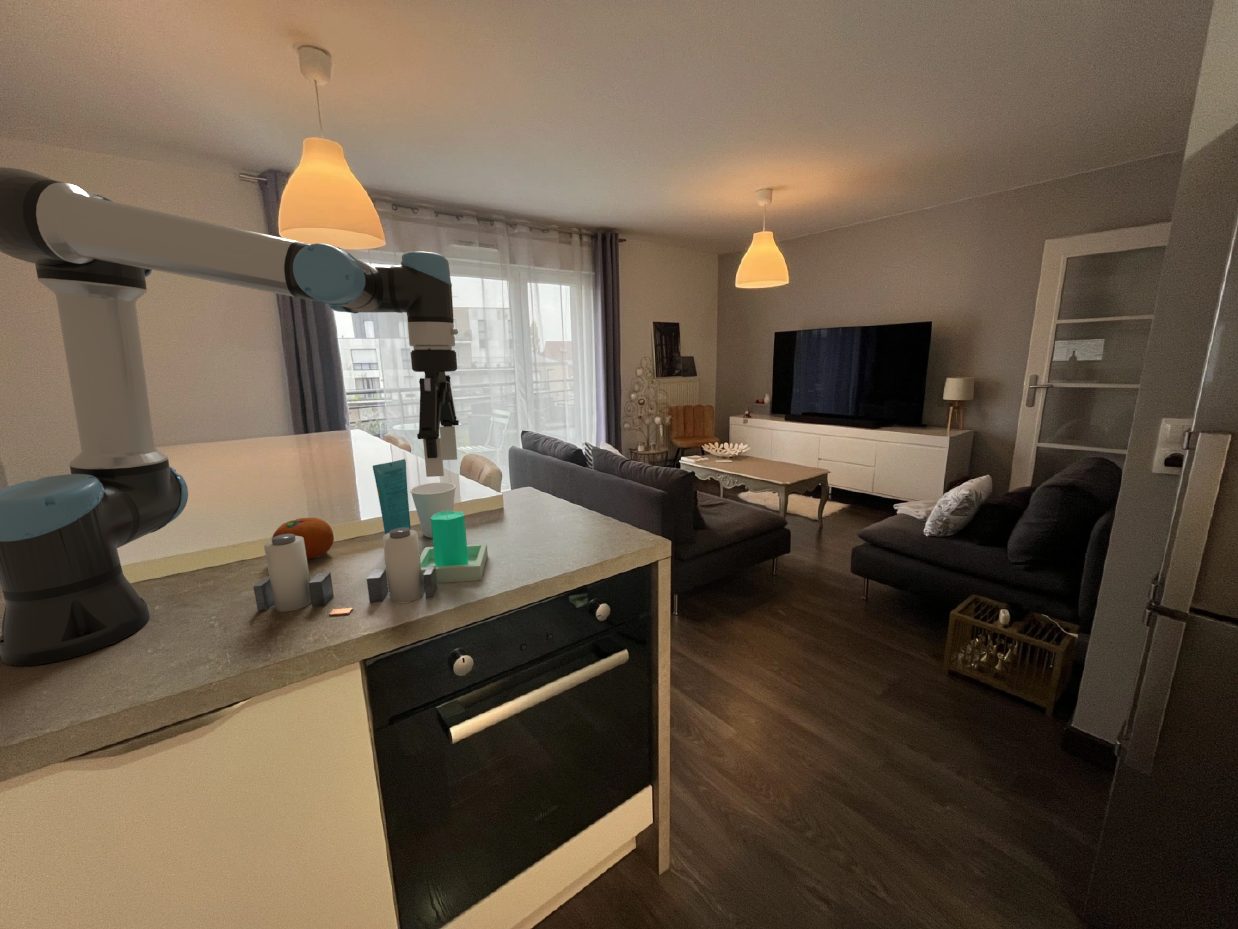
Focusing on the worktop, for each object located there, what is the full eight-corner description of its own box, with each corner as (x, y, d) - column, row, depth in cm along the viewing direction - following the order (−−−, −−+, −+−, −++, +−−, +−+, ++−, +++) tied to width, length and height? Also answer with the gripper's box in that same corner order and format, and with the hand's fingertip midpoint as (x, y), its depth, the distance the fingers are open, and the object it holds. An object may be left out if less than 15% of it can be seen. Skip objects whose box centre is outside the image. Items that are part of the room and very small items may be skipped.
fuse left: (268, 613, 80) (255, 544, 78) (285, 597, 86) (274, 532, 83) (304, 610, 81) (293, 542, 78) (318, 594, 86) (308, 530, 84)
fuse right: (385, 604, 83) (377, 537, 80) (395, 589, 88) (387, 526, 85) (419, 601, 84) (412, 535, 81) (426, 587, 89) (420, 524, 86)
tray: (412, 584, 90) (411, 570, 89) (426, 560, 100) (425, 547, 100) (481, 580, 91) (480, 565, 91) (487, 556, 102) (486, 543, 101)
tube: (405, 542, 110) (396, 457, 106) (421, 545, 108) (413, 459, 104) (376, 554, 103) (365, 464, 99) (393, 558, 101) (383, 466, 97)
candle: (458, 574, 92) (453, 513, 90) (429, 572, 93) (423, 511, 91) (473, 561, 98) (469, 503, 95) (445, 559, 99) (440, 501, 96)
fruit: (327, 544, 109) (322, 509, 108) (342, 557, 102) (337, 520, 100) (269, 558, 102) (263, 521, 100) (281, 573, 95) (274, 534, 93)
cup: (416, 529, 118) (411, 484, 116) (459, 524, 121) (456, 480, 119) (412, 543, 109) (407, 495, 107) (460, 538, 112) (456, 491, 109)
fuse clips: (245, 622, 78) (240, 596, 77) (269, 600, 84) (265, 576, 83) (428, 608, 81) (425, 583, 80) (437, 588, 88) (435, 565, 87)
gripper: (441, 347, 75) (452, 483, 80) (466, 349, 99) (473, 453, 104) (389, 347, 74) (403, 485, 79) (427, 349, 98) (436, 454, 103)
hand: (443, 467), depth 91 cm, fingers open, 13 cm apart
